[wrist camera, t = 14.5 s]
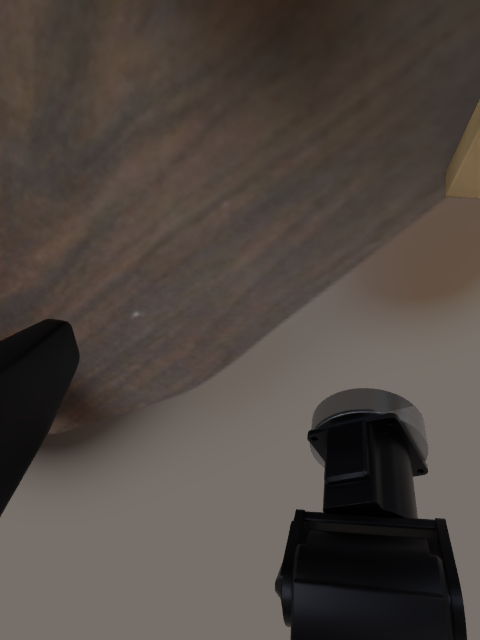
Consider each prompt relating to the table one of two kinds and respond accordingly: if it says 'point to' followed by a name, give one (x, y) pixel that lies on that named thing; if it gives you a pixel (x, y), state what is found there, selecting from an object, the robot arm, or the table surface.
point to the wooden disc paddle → (466, 162)
